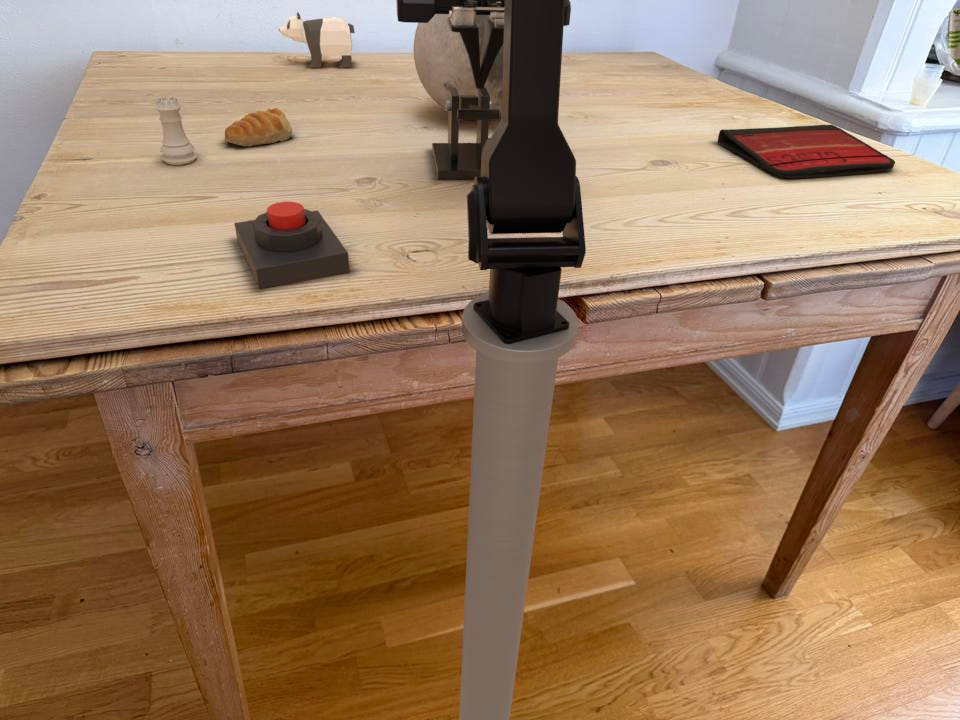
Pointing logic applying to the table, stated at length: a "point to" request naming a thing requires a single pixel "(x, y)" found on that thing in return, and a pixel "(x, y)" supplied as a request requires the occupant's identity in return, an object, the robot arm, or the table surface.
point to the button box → (291, 250)
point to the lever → (474, 110)
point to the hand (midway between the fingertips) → (479, 88)
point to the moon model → (452, 62)
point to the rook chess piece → (173, 133)
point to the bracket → (457, 156)
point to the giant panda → (322, 38)
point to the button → (286, 216)
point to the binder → (805, 151)
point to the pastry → (259, 128)
